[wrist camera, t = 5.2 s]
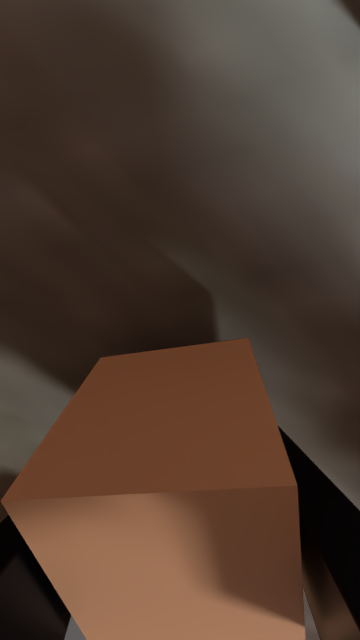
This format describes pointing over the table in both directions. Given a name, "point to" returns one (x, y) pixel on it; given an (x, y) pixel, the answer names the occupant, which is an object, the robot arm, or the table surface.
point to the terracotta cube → (168, 501)
